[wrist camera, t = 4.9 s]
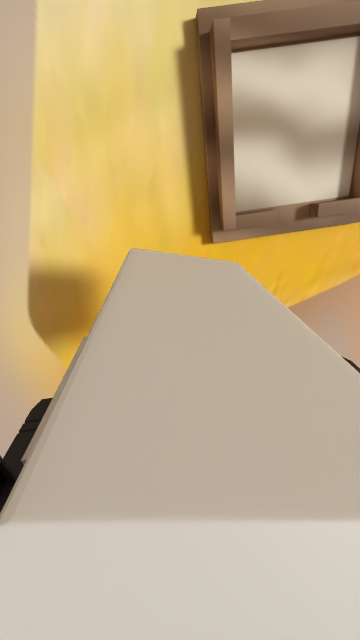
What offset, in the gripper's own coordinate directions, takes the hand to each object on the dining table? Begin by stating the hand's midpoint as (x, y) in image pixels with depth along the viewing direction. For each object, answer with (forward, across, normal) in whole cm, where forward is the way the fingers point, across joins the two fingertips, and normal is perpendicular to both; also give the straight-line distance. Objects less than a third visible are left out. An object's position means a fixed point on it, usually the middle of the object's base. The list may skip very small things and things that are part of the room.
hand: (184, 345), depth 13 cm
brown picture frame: (+17, +13, +10) cm, 23 cm away
